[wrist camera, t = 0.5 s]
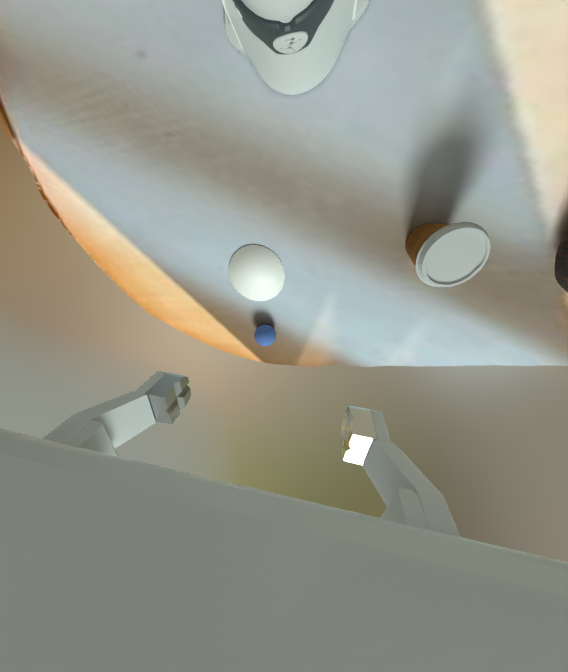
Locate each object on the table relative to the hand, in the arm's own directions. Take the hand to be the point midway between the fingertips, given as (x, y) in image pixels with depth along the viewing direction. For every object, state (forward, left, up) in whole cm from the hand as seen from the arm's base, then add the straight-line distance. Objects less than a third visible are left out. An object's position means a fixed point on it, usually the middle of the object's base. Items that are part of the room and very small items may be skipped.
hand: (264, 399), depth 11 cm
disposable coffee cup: (+3, +22, -41) cm, 47 cm away
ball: (+22, -12, -38) cm, 45 cm away
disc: (+7, -12, -41) cm, 43 cm away
